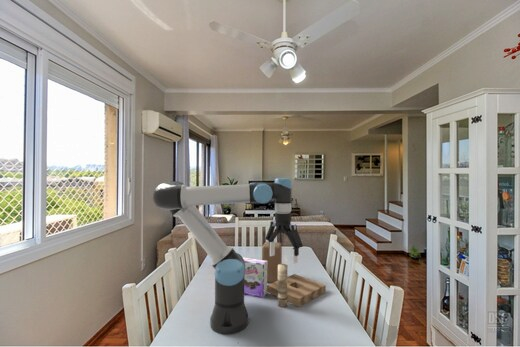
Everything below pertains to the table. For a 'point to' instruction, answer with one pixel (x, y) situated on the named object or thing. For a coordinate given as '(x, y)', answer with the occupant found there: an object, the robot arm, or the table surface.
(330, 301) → the table surface
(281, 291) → the peg
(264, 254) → the wooden block
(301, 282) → the board
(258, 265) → the candy box
